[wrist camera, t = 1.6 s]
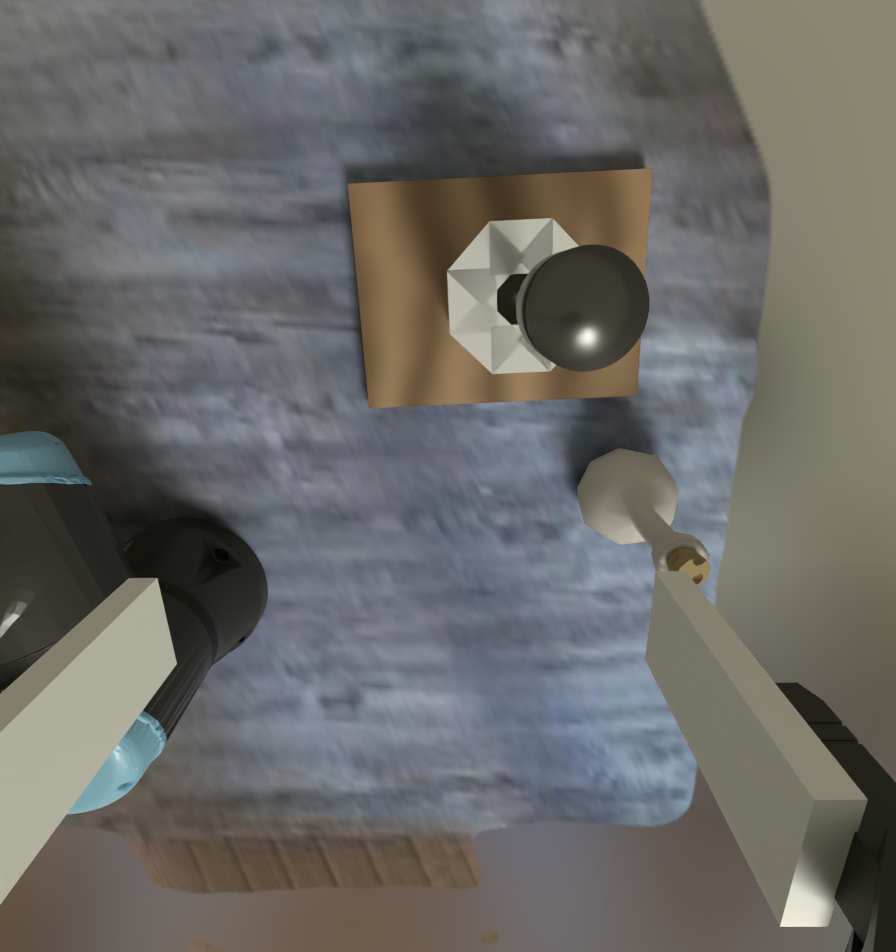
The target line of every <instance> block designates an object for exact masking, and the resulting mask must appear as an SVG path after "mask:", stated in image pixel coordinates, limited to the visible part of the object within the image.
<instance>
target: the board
mask: <svg viewBox="0 0 896 952" xmlns="http://www.w3.org/2000/svg"><path fill="white" fill-rule="evenodd" d="M651 182H652V168H648V169H629V170H609V171H589V172H569V173H550V174H530V175H510V176H490V177H471V178H451V179H431V180H411V181H392V182H372V183H352V184H348V192H349V203H350V213H351V224H352V234H353V245H354V255H355V266H356V276H357V287H358V297H359V308H360V319H361V329H362V340H363V350H364V361H365V371H366V382H367V392H368V403H369V408H382V407H403V406H425V405H447V404H468V403H490V402H512V401H534V400H555V399H577V398H599V397H620V396H637V385H638V370H639V356H640V341H641V336H640V338H639V340H638V341H637V343H636V344H635V345H634V347H633V348H632V349H631V350H630V351H629V352H628V353H627V354H626V355H625V356H624V357H623V358H621V359H620V360H618V361H617V362H615V363H613V364H612V365H610V366H608V367H605V368H602V369H599V370H595V371H587V372H578V371H571V370H568V369H564V368H562V367H560V366H557V365H556V366H555V367H554V368H553V369H552V370H551V371H550V372H549V371H546V372H525V373H503V374H492V373H491V372H490V371H489V370H488V369H487V368H486V367H485V366H483V365H482V364H481V363H480V362H479V361H478V360H477V359H476V358H475V357H474V356H473V355H472V354H471V353H470V352H469V351H468V350H466V349H465V348H464V347H463V346H462V345H461V344H460V343H459V342H458V341H457V340H456V339H455V338H454V337H453V336H452V335H450V334H449V322H448V321H449V316H448V293H447V276H446V275H447V270H448V269H449V268H450V267H451V266H452V265H453V264H454V262H455V261H456V260H457V259H458V258H459V257H460V255H461V254H462V253H463V252H464V251H465V250H466V248H467V247H468V246H469V245H470V244H471V242H472V241H473V240H474V239H475V238H476V237H477V235H478V234H479V233H480V232H481V231H482V230H483V228H484V227H485V226H486V225H487V224H488V222H489V221H505V220H525V219H545V218H553V219H554V220H555V221H556V222H557V223H558V224H559V226H560V227H561V228H562V229H563V230H564V231H565V232H566V233H567V234H568V235H569V236H570V237H571V238H572V239H573V240H574V242H575V243H576V244H577V245H578V246H582V245H590V244H594V245H604V246H609V247H612V248H615V249H617V250H619V251H621V252H622V253H624V254H625V255H627V256H628V257H629V258H630V259H631V260H632V261H634V263H635V264H636V265H637V266H638V268H639V269H640V271H641V272H642V274H643V276H644V279H645V269H646V255H647V240H648V226H649V211H650V197H651Z"/></svg>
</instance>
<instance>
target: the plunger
mask: <svg viewBox="0 0 896 952" xmlns="http://www.w3.org/2000/svg"><path fill="white" fill-rule="evenodd" d="M507 300H508V303H509V304H510V305H511V306H514V307H516V317H517V322H518V326H519V329H520V331H521V333H522V335H523V337H524V339H525V340H526V342H527V343H528V344H529V345H530V346H531V347H532V348H533V349H534V350H535V351H537V352H538V353H539V354H541V355H542V356H544V357H545V358H547V359H548V360H549V361H551V362H552V363H554V364H556V365H557V366H560V367H562V368H564V369H568V370H571V371H578V372H587V371H595V370H599V369H602V368H605V367H608V366H610V365H612V364H613V363H615V362H617V361H618V360H620V359H621V358H623V357H624V356H625V355H626V354H627V353H628V352H629V351H630V350H631V349H632V348H633V347H634V345H635V344H636V343H637V341H638V340H639V338H640V336H641V334H642V332H643V330H644V328H645V325H646V322H647V318H648V312H649V293H648V288H647V284H646V281H645V279H644V276H643V274H642V272H641V271H640V269H639V268H638V266H637V265H636V264H635V263H634V261H632V260H631V259H630V258H629V257H628V256H627V255H625V254H624V253H622V252H621V251H619V250H617V249H615V248H612V247H609V246H604V245H594V244H590V245H582V246H578V247H574V248H571V249H568V250H565V251H561V252H558V253H555V254H553V255H550V256H548V257H546V258H545V259H543V260H542V261H540V262H539V263H538V264H536V265H535V266H534V267H533V268H532V269H531V271H530V272H529V273H528V274H527V276H526V277H525V279H524V281H523V283H522V285H521V287H520V290H519V291H512V292H510V293H509V295H508V297H507Z"/></svg>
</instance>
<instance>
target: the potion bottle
mask: <svg viewBox="0 0 896 952" xmlns="http://www.w3.org/2000/svg"><path fill="white" fill-rule="evenodd" d="M577 496H578V500H579V503H580V507H581V511H582V515H583V518H584V522H585V524H586V525H588V526H589V527H591V528H592V529H594V530H596V531H597V532H599V533H601V534H602V535H604V536H606V537H607V538H609V539H611V540H612V541H614V542H616V543H617V544H619V545H621V544H628V543H636V542H644V541H646V543H647V544H648V545H649V546H650V548H651V549H652V552H651V554H652V558H653V563H654V567H655V569H656V571H686V573H687V574H688V575H689V576H690V578H691V579H692V580H693V581H694V583H695V584H696V585H697V586H699V585H700V584H701V583H703V582H704V581H705V580H706V579H707V576H708V574H709V572H710V566H709V562H708V559H709V555H710V554H709V553H708V551H707V550H706V549H705V547H704V546H703V544H702V543H701V541H699V540H698V539H696V538H694V537H693V536H691V535H688V534H683V533H678V532H675V531H674V530H673V529H672V528H671V527H670V526H669V525H670V524H671V523H672V521H673V518H674V513H675V507H676V502H677V497H678V488H677V486H676V483H675V481H674V479H673V478H672V476H671V475H670V474H669V472H668V471H667V469H666V468H665V466H664V465H663V463H662V462H661V460H660V459H659V457H658V456H655V455H651V454H646V453H641V452H636V451H631V450H626V449H620V448H617V449H615V450H612V451H610V452H608V453H606V454H604V455H602V456H600V457H598V458H596V459H594V460H592V461H590V463H589V465H588V467H587V469H586V471H585V473H584V475H583V477H582V479H581V481H580V483H579V485H578V487H577Z"/></svg>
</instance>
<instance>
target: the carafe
mask: <svg viewBox="0 0 896 952" xmlns="http://www.w3.org/2000/svg"><path fill="white" fill-rule="evenodd" d="M574 247H578V245H577V244H576V243H575V242H574V240H573V239H572V238H571V237H570V236H569V235H568V234H567V233H566V232H565V231H564V230H563V229H562V228H561V227H560V226H559V224H558V223H557V222H556V221H555V220H554V219H553V218H545V219H525V220H505V221H489V222H488V224H487V225H486V226H485V227H484V228H483V230H482V231H481V232H480V233H479V234H478V235H477V237H476V238H475V239H474V240H473V241H472V242H471V244H470V245H469V246H468V247H467V248H466V250H465V251H464V252H463V253H462V254H461V255H460V257H459V258H458V259H457V260H456V261H455V262H454V264H453V265H452V266H451V267H450V268H449V269H448V270H447V275H446V276H447V293H448V316H449V321H448V322H449V334H450V335H452V336H453V337H454V338H455V339H456V340H457V341H458V342H459V343H460V344H461V345H462V346H463V347H464V348H465V349H466V350H468V351H469V352H470V353H471V354H472V355H473V356H474V357H475V358H476V359H477V360H478V361H479V362H480V363H481V364H482V365H483V366H485V367H486V368H487V369H488V370H489V371H490V372H491V373H492V374H503V373H525V372H546V371H549V372H550V371H551V370H552V369H553V368H554V367H555V366H556V364H554V363H552V362H551V361H549V360H548V359H547V358H545V357H544V356H542V355H541V354H539V353H538V352H537V351H535V350H534V349H533V348H532V347H531V346H530V345H529V344H528V343H527V342H526V340H525V339H524V337H523V335H522V333H521V331H520V329H519V326H518V322H517V317H516V307H514V306H511V305H510V304H509V303H508V300H507V297H508V295H509V293H510V292H512V291H519V290H520V287H521V285H522V283H523V281H524V279H525V277H526V276H527V274H528V273H529V272H530V271H531V269H532V268H533V267H534V266H535V265H536V264H538V263H539V262H540V261H542V260H543V259H545V258H546V257H548V256H550V255H553V254H555V253H558V252H561V251H565V250H568V249H571V248H574Z"/></svg>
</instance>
